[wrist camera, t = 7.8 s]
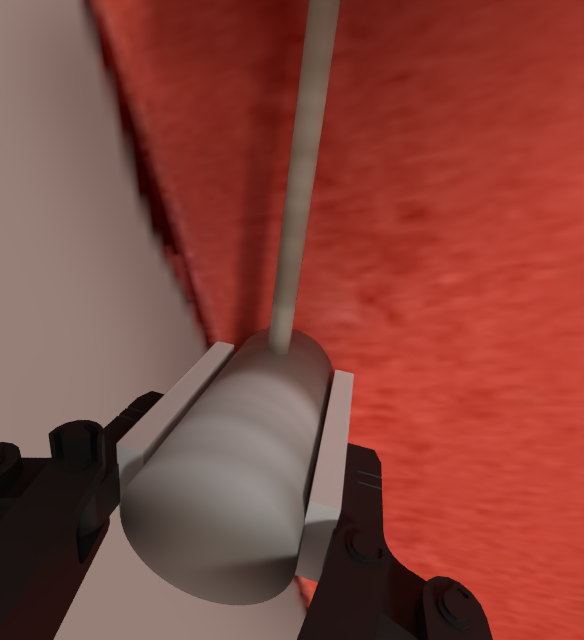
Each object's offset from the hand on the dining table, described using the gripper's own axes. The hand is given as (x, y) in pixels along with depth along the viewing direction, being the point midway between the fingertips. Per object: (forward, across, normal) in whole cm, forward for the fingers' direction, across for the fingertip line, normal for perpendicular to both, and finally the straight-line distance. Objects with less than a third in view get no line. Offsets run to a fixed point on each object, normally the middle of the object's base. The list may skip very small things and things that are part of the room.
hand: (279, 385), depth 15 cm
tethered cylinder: (+1, 0, +10) cm, 10 cm away
